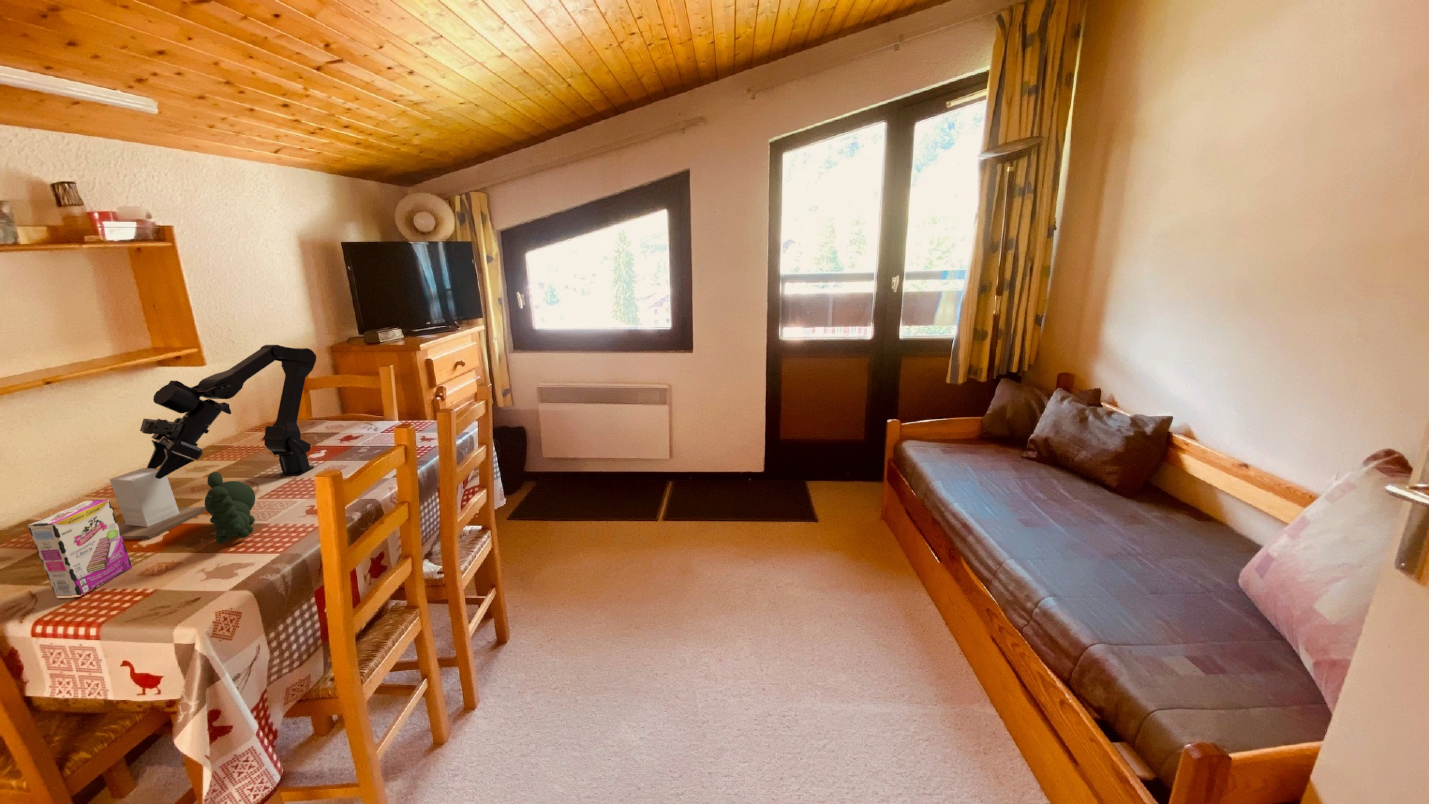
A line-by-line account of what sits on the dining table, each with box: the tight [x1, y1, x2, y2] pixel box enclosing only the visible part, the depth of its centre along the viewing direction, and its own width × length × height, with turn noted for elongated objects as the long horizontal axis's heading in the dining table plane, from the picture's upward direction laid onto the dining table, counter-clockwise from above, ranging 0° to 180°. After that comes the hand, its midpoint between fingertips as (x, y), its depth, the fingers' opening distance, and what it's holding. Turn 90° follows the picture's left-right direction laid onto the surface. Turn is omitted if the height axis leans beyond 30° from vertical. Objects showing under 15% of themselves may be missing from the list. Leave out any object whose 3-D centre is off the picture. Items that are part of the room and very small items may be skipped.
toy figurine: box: [204, 471, 256, 545], centre depth 131 cm, size 9×19×25 cm
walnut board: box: [117, 506, 207, 541], centre depth 138 cm, size 15×15×1 cm
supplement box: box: [109, 467, 179, 527], centre depth 137 cm, size 7×7×13 cm
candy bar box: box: [27, 499, 133, 598], centre depth 111 cm, size 11×5×16 cm, turn 5°
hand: (152, 474), depth 137 cm, fingers open, 9 cm apart
